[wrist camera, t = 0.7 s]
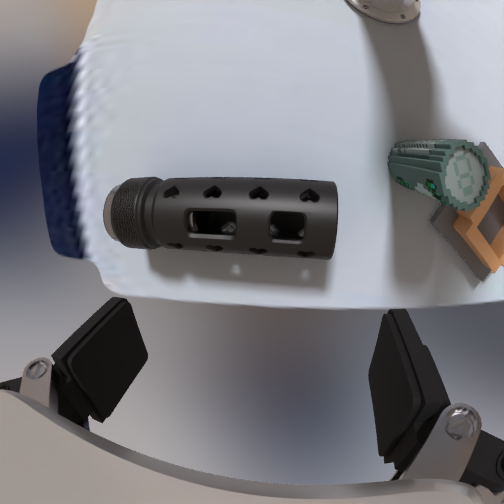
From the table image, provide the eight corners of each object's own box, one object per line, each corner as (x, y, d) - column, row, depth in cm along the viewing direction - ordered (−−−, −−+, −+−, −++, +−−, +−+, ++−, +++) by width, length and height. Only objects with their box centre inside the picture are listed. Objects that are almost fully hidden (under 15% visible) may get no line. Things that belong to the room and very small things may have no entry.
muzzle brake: (325, 243, 37) (332, 276, 28) (144, 233, 42) (105, 257, 32) (330, 175, 34) (341, 184, 24) (138, 174, 38) (95, 185, 29)
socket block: (480, 142, 26) (499, 143, 22) (524, 209, 27) (541, 217, 22) (429, 221, 33) (445, 232, 28) (479, 278, 34) (493, 292, 29)
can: (396, 191, 32) (448, 218, 19) (382, 148, 31) (432, 149, 17) (431, 178, 30) (494, 200, 17) (419, 137, 29) (480, 135, 15)
